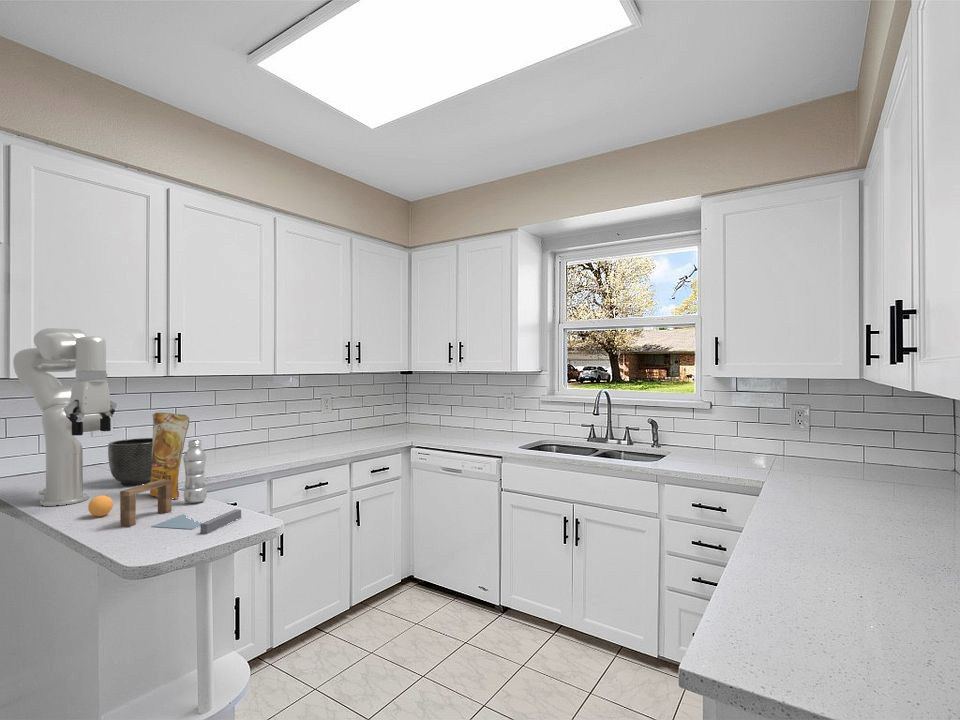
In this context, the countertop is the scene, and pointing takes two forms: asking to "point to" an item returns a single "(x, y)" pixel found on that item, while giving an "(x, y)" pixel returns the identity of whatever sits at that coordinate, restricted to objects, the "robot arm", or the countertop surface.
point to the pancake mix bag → (168, 448)
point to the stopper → (219, 521)
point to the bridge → (130, 500)
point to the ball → (100, 505)
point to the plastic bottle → (194, 473)
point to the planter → (131, 461)
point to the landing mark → (178, 523)
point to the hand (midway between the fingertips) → (91, 433)
